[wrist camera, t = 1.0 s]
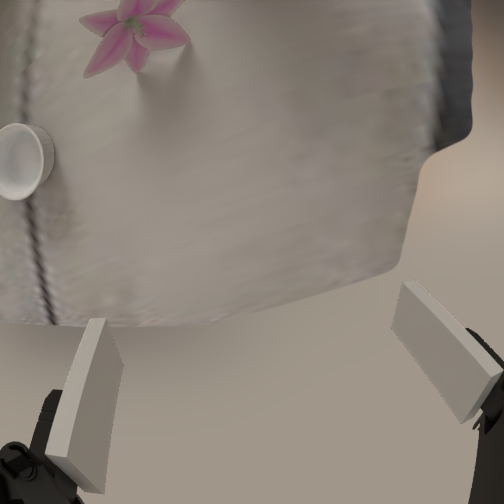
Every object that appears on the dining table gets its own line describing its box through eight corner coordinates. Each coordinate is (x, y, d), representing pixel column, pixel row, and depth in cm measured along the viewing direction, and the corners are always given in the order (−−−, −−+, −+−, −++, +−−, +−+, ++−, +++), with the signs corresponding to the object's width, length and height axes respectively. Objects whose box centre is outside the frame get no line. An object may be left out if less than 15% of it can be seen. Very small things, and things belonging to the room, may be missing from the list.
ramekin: (0, 183, 30) (-18, 192, 26) (11, 116, 27) (-8, 118, 23) (52, 198, 33) (37, 208, 29) (66, 127, 30) (51, 130, 26)
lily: (85, 84, 29) (89, 104, 23) (69, -5, 20) (68, -14, 14) (180, 57, 33) (210, 70, 27) (173, -27, 24) (204, -38, 18)
